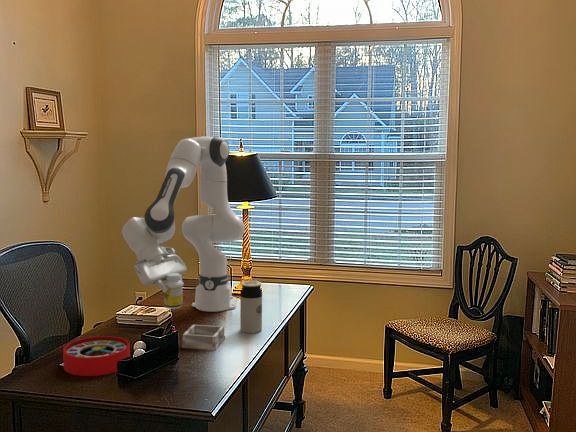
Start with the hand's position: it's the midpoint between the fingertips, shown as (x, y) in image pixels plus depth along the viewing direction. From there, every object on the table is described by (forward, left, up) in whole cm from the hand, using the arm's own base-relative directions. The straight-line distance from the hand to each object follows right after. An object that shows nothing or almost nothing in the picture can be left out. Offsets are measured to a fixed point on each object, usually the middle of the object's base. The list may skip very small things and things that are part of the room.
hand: (174, 288), depth 208 cm
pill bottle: (0, -1, -7) cm, 7 cm away
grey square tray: (0, +10, -19) cm, 22 cm away
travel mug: (-17, +23, -19) cm, 35 cm away
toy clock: (+25, -17, -19) cm, 35 cm away
